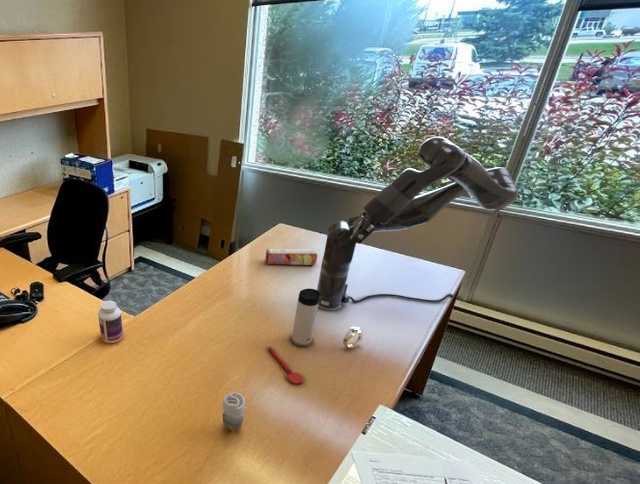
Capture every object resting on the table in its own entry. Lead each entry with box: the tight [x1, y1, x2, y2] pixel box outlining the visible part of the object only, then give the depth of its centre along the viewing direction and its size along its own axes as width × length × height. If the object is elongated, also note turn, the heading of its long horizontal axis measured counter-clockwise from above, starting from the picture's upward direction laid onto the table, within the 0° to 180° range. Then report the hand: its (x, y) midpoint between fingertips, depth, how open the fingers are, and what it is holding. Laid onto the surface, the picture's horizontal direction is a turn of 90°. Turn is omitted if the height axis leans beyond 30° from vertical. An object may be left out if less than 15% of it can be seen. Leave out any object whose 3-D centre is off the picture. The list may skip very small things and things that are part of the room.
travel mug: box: [291, 288, 321, 347], centre depth 137 cm, size 6×7×20 cm
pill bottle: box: [97, 300, 124, 344], centre depth 147 cm, size 8×8×14 cm
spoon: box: [268, 346, 304, 386], centre depth 132 cm, size 17×4×1 cm, turn 14°
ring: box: [342, 326, 364, 349], centre depth 136 cm, size 7×3×8 cm, turn 104°
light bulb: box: [222, 391, 246, 431], centre depth 110 cm, size 6×6×12 cm
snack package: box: [265, 248, 318, 266], centre depth 187 cm, size 21×7×7 cm, turn 79°
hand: (342, 244), depth 124 cm, fingers open, 8 cm apart
